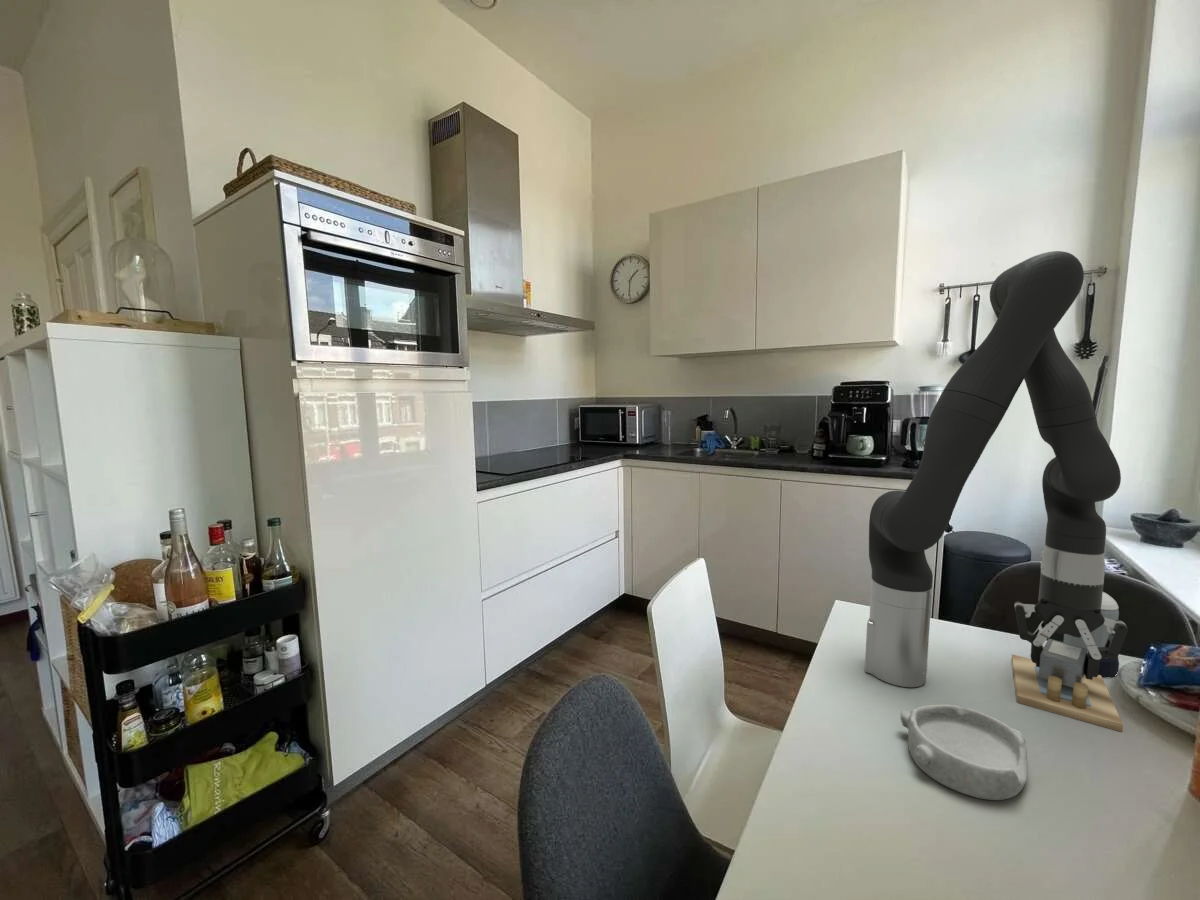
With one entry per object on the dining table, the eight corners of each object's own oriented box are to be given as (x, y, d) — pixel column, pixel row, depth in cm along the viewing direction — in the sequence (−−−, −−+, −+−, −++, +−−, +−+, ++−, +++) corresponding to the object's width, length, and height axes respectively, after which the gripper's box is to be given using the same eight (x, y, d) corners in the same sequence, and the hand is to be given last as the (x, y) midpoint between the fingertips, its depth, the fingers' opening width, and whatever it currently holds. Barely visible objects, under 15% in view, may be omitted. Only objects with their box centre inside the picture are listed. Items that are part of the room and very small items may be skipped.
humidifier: (1051, 663, 92) (1063, 533, 89) (1062, 649, 97) (1074, 526, 94) (1113, 683, 85) (1128, 544, 83) (1121, 667, 90) (1136, 535, 88)
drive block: (1038, 676, 82) (1040, 653, 82) (1046, 659, 87) (1048, 637, 87) (1080, 690, 78) (1082, 665, 78) (1085, 671, 84) (1087, 648, 83)
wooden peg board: (1122, 731, 73) (1125, 702, 73) (1017, 702, 80) (1019, 675, 80) (1100, 682, 86) (1103, 656, 85) (1011, 660, 93) (1013, 636, 92)
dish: (1018, 752, 69) (1021, 719, 69) (1044, 826, 58) (1048, 787, 57) (898, 719, 77) (900, 689, 76) (900, 778, 65) (902, 743, 64)
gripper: (1016, 572, 82) (1008, 667, 84) (1141, 592, 74) (1130, 697, 75) (1013, 560, 88) (1006, 649, 90) (1128, 577, 80) (1118, 675, 81)
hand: (1062, 670), depth 83 cm, fingers closed on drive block, 5 cm apart
